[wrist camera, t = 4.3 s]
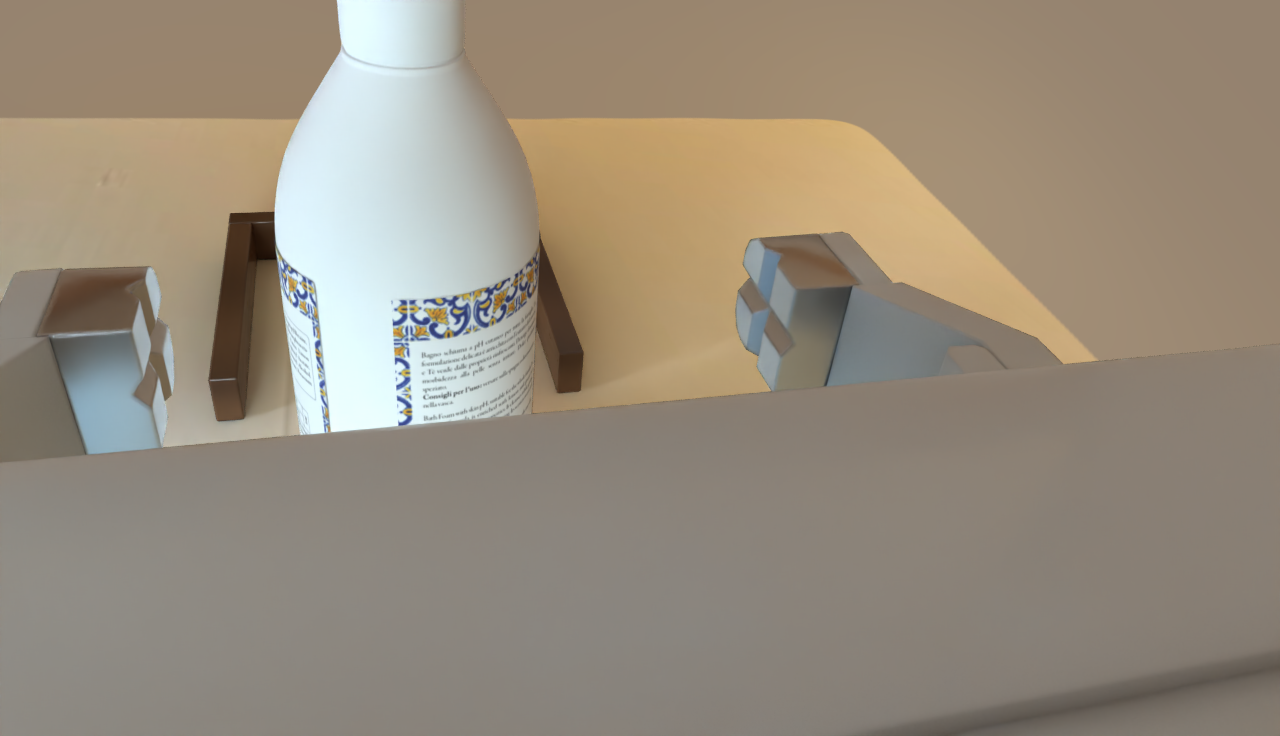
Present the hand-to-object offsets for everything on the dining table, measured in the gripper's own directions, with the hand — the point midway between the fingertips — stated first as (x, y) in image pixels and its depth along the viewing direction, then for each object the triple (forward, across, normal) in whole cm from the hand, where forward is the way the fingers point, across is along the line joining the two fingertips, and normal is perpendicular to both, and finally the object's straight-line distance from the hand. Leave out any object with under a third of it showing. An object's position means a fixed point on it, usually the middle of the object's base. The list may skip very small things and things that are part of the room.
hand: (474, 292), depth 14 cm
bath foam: (+12, 0, +17) cm, 21 cm away
